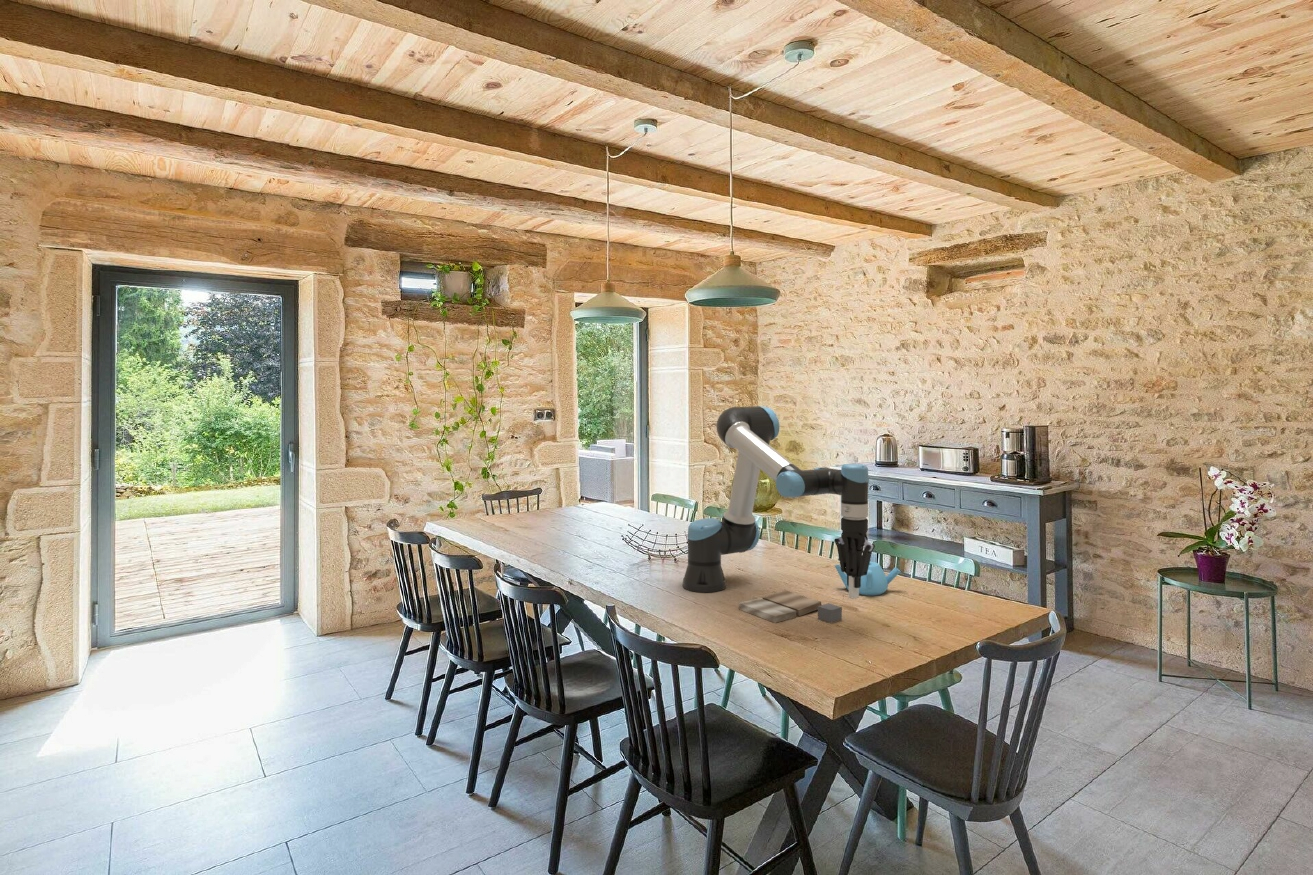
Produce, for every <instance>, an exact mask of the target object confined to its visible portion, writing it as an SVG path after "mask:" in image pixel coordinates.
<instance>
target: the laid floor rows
mask: <svg viewBox="0 0 1313 875" xmlns="http://www.w3.org/2000/svg"><path fill="white" fill-rule="evenodd" d="M738 609H739V610H740V611H743V612H746V613H748V614H751V615H753V616H755V617H758V618H761V619H764V620H766V621H769V622H772V623H773V624H777V623H780V622H783V621H788V620H792V619H794V618H797V615H796V611H795V610H792V609H790V608H787V607H784V606H781V605H778V604H775V603H773V602H770V601H767V600H764V599H762V598H761V597H759V598H758V597H757V598H755V599H754V598H753V599H750V600H745V601H741V602H739V603H738Z"/></svg>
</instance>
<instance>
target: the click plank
mask: <svg viewBox="0 0 1313 875" xmlns="http://www.w3.org/2000/svg"><path fill="white" fill-rule="evenodd" d="M761 599H764V600H767V601H770V602H773V603H775V604H778V605H781V606H784V607H787V608H790V609H792V610H795V611H796V617H801V616H803V615H807V614H809V613H812V612H815V611H818V606H821V605H822V601H820V600H818V599H814V598H811V597H808V596H804V595H802V594H799V593H796V592H792V591H789V590H786V589H783V590H780V591H777V592H773V593H770V594H767V595H765V596H762V598H761Z"/></svg>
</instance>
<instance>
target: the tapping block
mask: <svg viewBox="0 0 1313 875" xmlns="http://www.w3.org/2000/svg"><path fill="white" fill-rule="evenodd" d="M842 615H843V607H842V606H840V605H839V606H838V605H837V604H832V603H829V602H828V603H824V604H821V606H818V609H817V619H818V620H820V621H823V622H826V623H830V624H833V623H836V622H841V621H842V620H843V619H842V618H843V616H842Z"/></svg>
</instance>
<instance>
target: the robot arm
mask: <svg viewBox="0 0 1313 875" xmlns="http://www.w3.org/2000/svg"><path fill="white" fill-rule="evenodd" d="M716 433H717V435H718V437H719V439H720V440H721V442H723V443H724V444H725V445H726V446H727V447H729V448H731V449H736V450H737V459H736V462H735V464H736V465H735V469H734V475H733V480H732V486H731V491H730V492H731V494H730V499H729V504H728V509H727V510H726V511H724V512H723V515H722V521H721V520H720V519H718V518H714V517H713V518H712V517H709V518H699V519H697V520H693V521H691V523H689V524H688V529H687V565H686V566H687V567H686V570H685V572H684V576H683V580H682V587H683V588H684V589H685V590H688V591H691V592H696V593H715V592H720V591H724V589H726V587H727V581H726V578H725V574H724V571H723V567H722V556H724V555H731V554H738V553H739V554H741V553H742V554H743V553H745V552H748V551H752V550H754V548H755V547H756V546H757V545H758V543H759V540H760V530H759V529H760V527H759V524H758V522H757V521H756V517H755V515H754V514H753V513H754V512H753V511H754V505H755V500H756V495H757V491H758V490H757V489H758V483H759V480H760V473H761V471H762V472H763V473H764V474H766V475H767V477H769V478H771V479H772V480H773V481H774V482H775V489H776V491H777V492H778V494H779V495H780V496H782V497H783V498H793V499H794V498H795V499H796V498H799V497H806V496H820V495H827V494H828V495H838V496H840V503H841V504H840V507H841V508H840V509H841V510H840V513H841V514H840V516H841V517H842V518H840V530H841V533H840V537H836V538H834V540H833V541H834V543H835V545H836V549H837V554H838V560H839V565H840V567H841V571H842V572H844V573H846V575H847V586H849V590H848V599H851V600H856V599H859V598H860V594H859V588H860V587H861V576H864V575H867V572H868V567H869V563H870V562H871V561H870V559H871V558H872V552H873V551H874V549H875V547H876V546H875V544H874V543H870V542H869V539H868V535H867V533H868V531H869V520H868V517H869V481H870V479H869V468H868V466H867V465H866V464H863V463H844V464H842V465H841V469H837V468H829V467H825V466H824V467H816V468H814V469H807V470H805V469H800V468H799V467H798V466H797V465H795V464H794V463H793V462H791V461H790V460H789V459H788V458H786V457H785V456H784V455H783V454H782V453H780V452H779V451H777V450H776V449H775V448H774V447H773V446H771V445H770V444H771V443H770V442H771V441H774V440H775V439H776V438H777V437H778V436H779V434H780V421H779V418H778V416H777V414H776V412H775V411H774V410H773V409H772V408H770V407H768V406H759V405H757V406H733V407H728V408H727V409H725V410H723V411H722V413H720V414H719V416H718V418H717V420H716Z"/></svg>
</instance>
